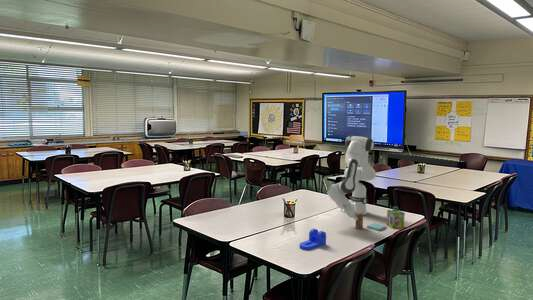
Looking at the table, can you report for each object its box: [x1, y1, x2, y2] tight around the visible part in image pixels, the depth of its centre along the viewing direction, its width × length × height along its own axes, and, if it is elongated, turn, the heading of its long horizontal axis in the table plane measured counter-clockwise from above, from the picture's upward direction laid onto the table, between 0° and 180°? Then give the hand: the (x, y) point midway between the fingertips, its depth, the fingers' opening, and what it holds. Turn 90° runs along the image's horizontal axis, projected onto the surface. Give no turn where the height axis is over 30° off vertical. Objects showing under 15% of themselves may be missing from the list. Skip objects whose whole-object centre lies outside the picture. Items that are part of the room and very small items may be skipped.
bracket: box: [299, 228, 327, 251], centre depth 220 cm, size 18×8×9 cm, turn 131°
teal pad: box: [366, 222, 387, 232], centre depth 257 cm, size 10×10×2 cm
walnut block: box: [355, 212, 364, 230], centre depth 256 cm, size 5×5×11 cm
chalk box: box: [386, 206, 405, 229], centre depth 261 cm, size 9×9×15 cm
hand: (357, 217), depth 256 cm, fingers open, 8 cm apart
